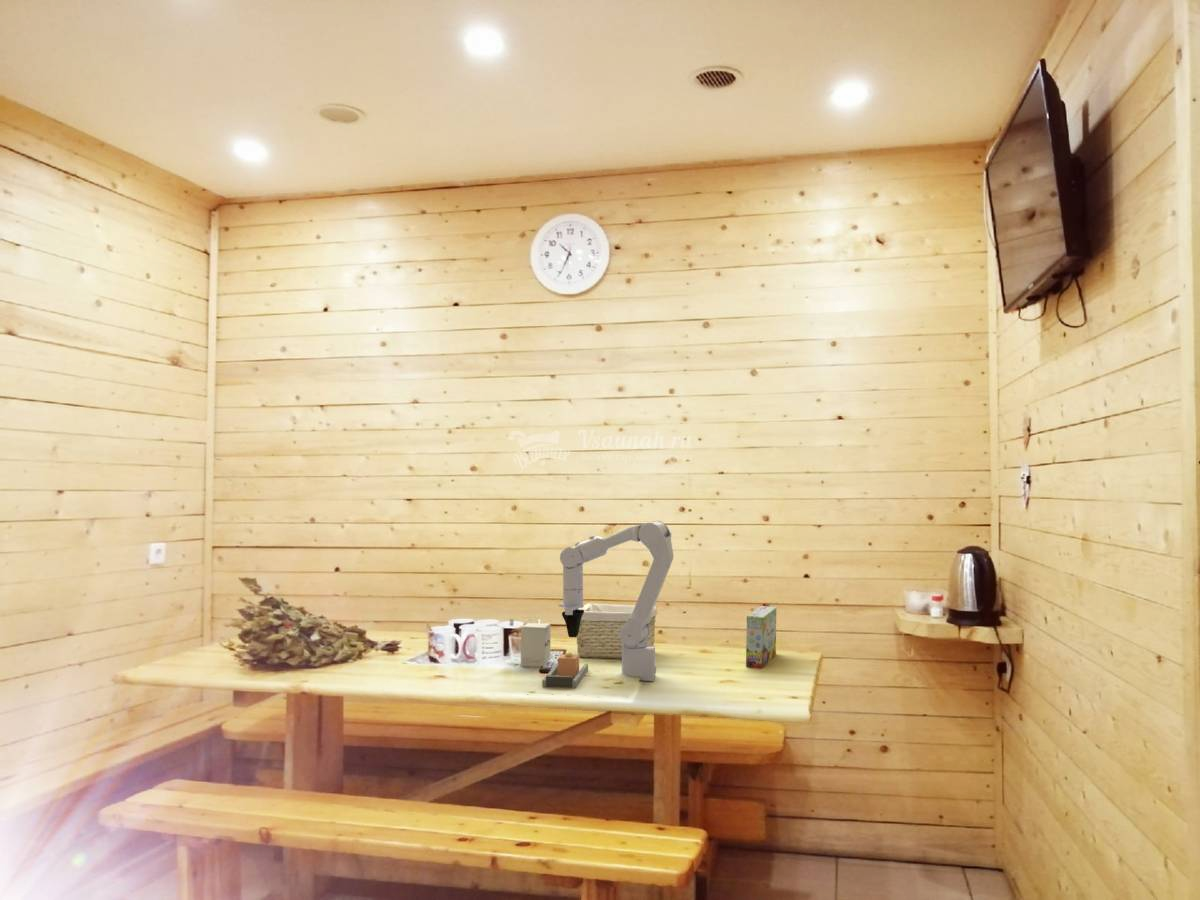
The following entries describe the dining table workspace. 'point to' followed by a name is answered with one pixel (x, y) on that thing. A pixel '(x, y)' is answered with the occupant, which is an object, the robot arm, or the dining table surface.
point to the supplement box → (535, 644)
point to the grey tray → (563, 678)
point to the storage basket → (606, 630)
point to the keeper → (568, 665)
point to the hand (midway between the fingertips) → (573, 636)
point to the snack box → (761, 637)
